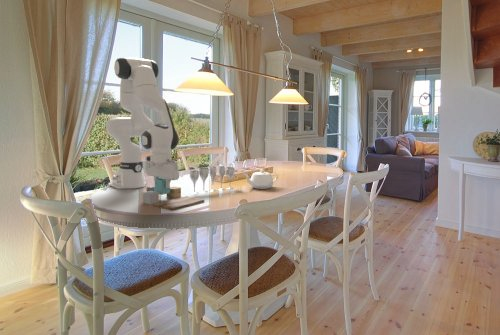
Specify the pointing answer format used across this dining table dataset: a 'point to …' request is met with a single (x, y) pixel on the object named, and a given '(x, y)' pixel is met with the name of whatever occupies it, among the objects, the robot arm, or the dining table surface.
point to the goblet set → (204, 174)
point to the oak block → (174, 192)
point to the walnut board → (178, 203)
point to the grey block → (150, 197)
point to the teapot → (261, 179)
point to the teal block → (161, 186)
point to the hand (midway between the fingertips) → (162, 186)
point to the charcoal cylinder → (150, 189)
